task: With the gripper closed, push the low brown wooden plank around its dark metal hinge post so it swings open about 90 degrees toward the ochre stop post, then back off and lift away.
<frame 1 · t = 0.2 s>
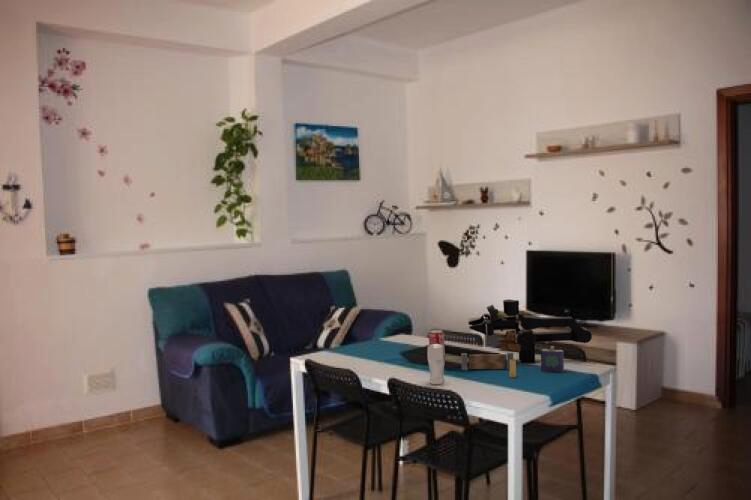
hand: (468, 325, 279), 17 cm above the table, tool horizontal, fingers open, 9 cm apart
soda can: (437, 356, 292), on the table
flask: (552, 371, 261), on the table
wooden carving: (515, 351, 297), on the table
beer glass: (437, 382, 253), on the table
gate frame: (505, 369, 267), on the table
brown wooden plank: (487, 361, 267), point 3 cm above the table, hinge at 0.0°
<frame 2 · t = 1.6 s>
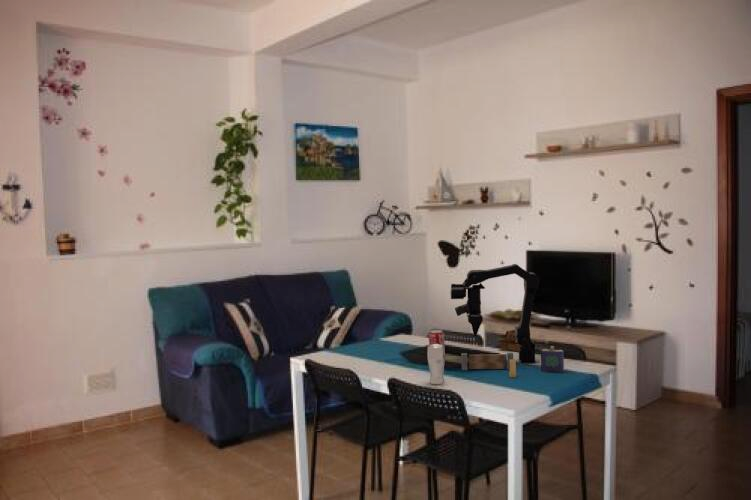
hand: (474, 333, 278), 13 cm above the table, tool pointing down, fingers open, 8 cm apart
nothing on the table moved.
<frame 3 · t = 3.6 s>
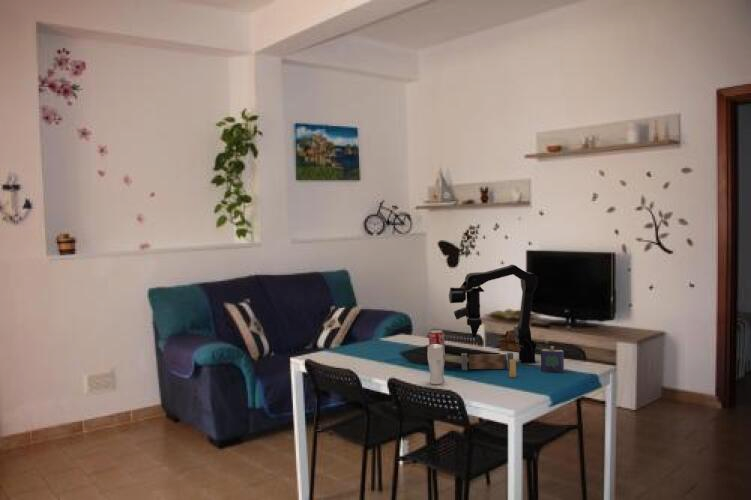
hand: (474, 337, 275), 12 cm above the table, tool pointing down, fingers closed
nothing on the table moved.
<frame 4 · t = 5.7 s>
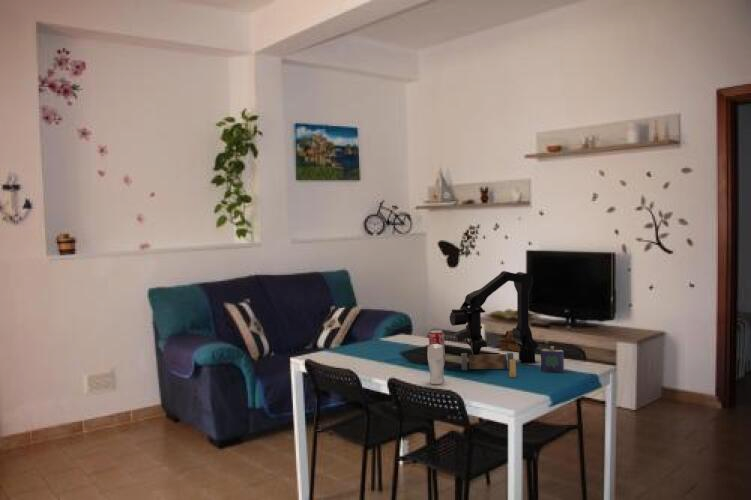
hand: (474, 358, 270), 4 cm above the table, tool pointing down, fingers closed
brown wooden plank: (487, 361, 267), point 3 cm above the table, hinge at 0.7°, touching gripper
everything else where it was.
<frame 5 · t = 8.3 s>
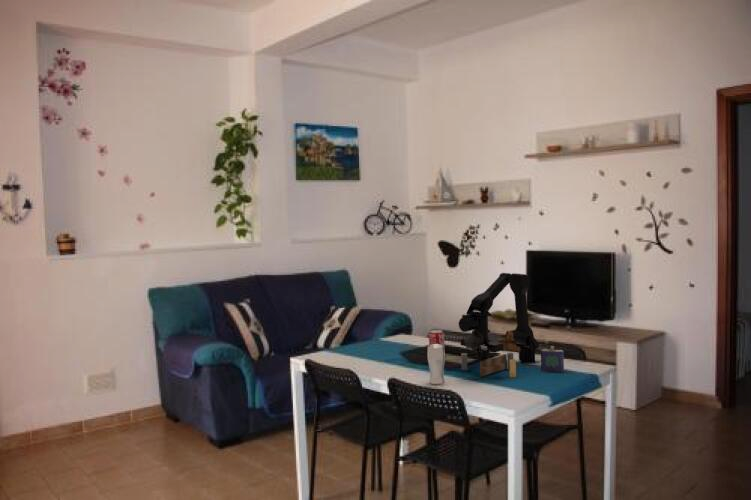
hand: (481, 364, 261), 4 cm above the table, tool pointing down, fingers closed
brown wooden plank: (494, 365, 262), point 3 cm above the table, hinge at 44.5°, touching gripper
everything else where it was.
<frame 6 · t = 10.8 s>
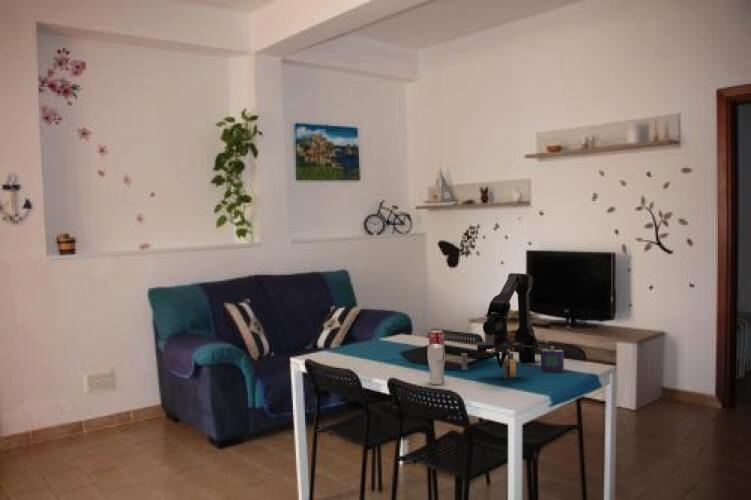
hand: (500, 367, 255), 4 cm above the table, tool pointing down, fingers closed
brown wooden plank: (506, 366, 260), point 3 cm above the table, hinge at 85.4°, touching gripper
everything else where it was.
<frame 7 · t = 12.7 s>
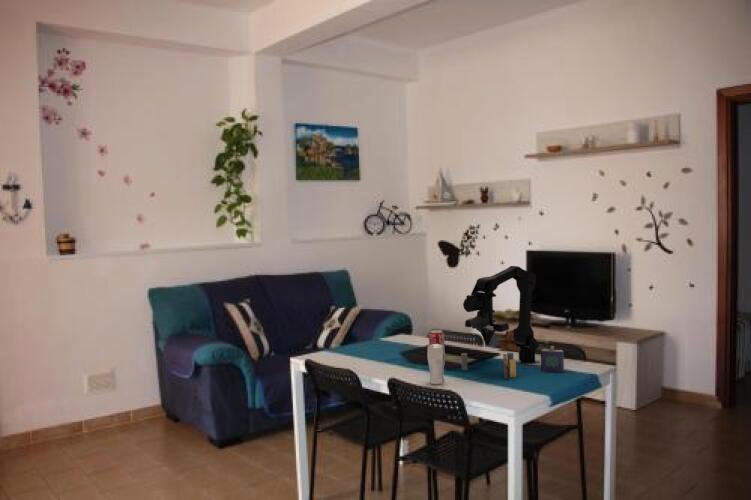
hand: (487, 344, 263), 12 cm above the table, tool pointing down, fingers closed
brown wooden plank: (506, 366, 260), point 3 cm above the table, hinge at 85.5°
everything else where it was.
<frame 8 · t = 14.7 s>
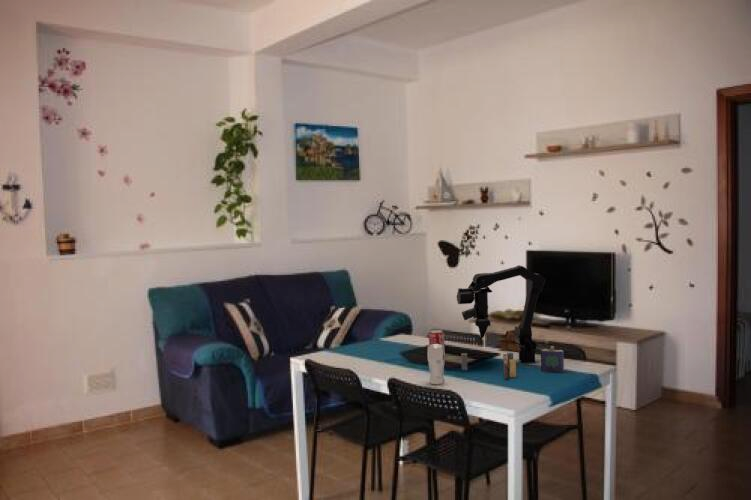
hand: (482, 337, 274), 12 cm above the table, tool pointing down, fingers closed
nothing on the table moved.
at the end: brown wooden plank at +86° (first picture: +0°); soda can moved 0.2 cm from its start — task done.
